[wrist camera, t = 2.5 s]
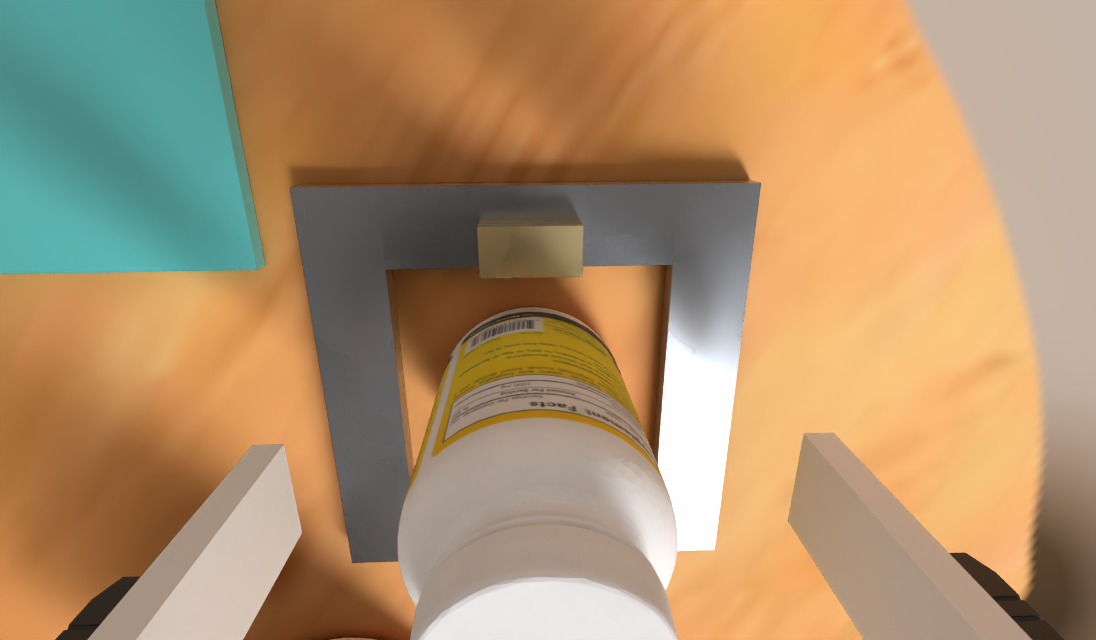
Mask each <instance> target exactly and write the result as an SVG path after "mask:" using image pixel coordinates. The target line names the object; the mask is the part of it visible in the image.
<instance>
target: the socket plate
mask: <svg viewBox="0 0 1096 640" xmlns="http://www.w3.org/2000/svg"><path fill="white" fill-rule="evenodd" d="M760 188H761V183H760V182H756V181H752V180H719V181H622V182H525V183H428V184H332V185H298V186H295V187H291V188H290V193H291V199H292V205H293V211H294V217H295V223H296V229H297V235H298V241H299V247H300V253H301V259H302V265H303V271H304V277H305V283H306V289H307V295H308V301H309V307H310V313H311V319H312V325H313V331H314V337H315V343H316V349H317V355H318V361H319V367H320V373H321V379H322V385H323V391H324V397H325V403H326V409H327V415H328V421H329V427H330V433H331V439H332V445H333V451H334V457H335V463H336V469H337V475H338V481H339V487H340V493H341V499H342V505H343V511H344V517H345V523H346V529H347V535H348V541H349V547H350V553H351V559H352V563H366V562H393V561H398V530H399V523H400V517H401V513H402V508H403V505H404V501H405V498H406V494H407V491H408V488H409V485H410V482H411V478H412V475H413V472H414V467H413V458H412V449H411V440H410V430H409V421H408V412H407V403H406V393H405V384H404V375H403V366H402V356H401V347H400V338H399V329H398V320H397V310H396V301H395V292H394V283H393V273H392V269H447V268H479V273H480V278H536V277H582V271H583V266H631V265H666V277H665V290H664V304H663V318H662V332H661V346H660V360H659V374H658V388H657V402H656V416H655V429H654V443H653V454H654V457H655V459H656V462H657V464H658V467H659V469H660V472H661V475H662V477H663V480H664V482H665V484H666V487H667V489H668V492H669V495H670V498H671V501H672V505H673V509H674V513H675V518H676V524H677V535H678V545H677V551H692V550H714V549H715V542H716V534H717V526H718V518H719V510H720V502H721V494H722V487H723V479H724V471H725V463H726V455H727V447H728V439H729V432H730V424H731V416H732V408H733V400H734V392H735V384H736V377H737V369H738V361H739V353H740V345H741V337H742V329H743V322H744V314H745V306H746V298H747V290H748V282H749V274H750V267H751V259H752V251H753V243H754V235H755V227H756V219H757V212H758V204H759V196H760Z"/></svg>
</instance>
